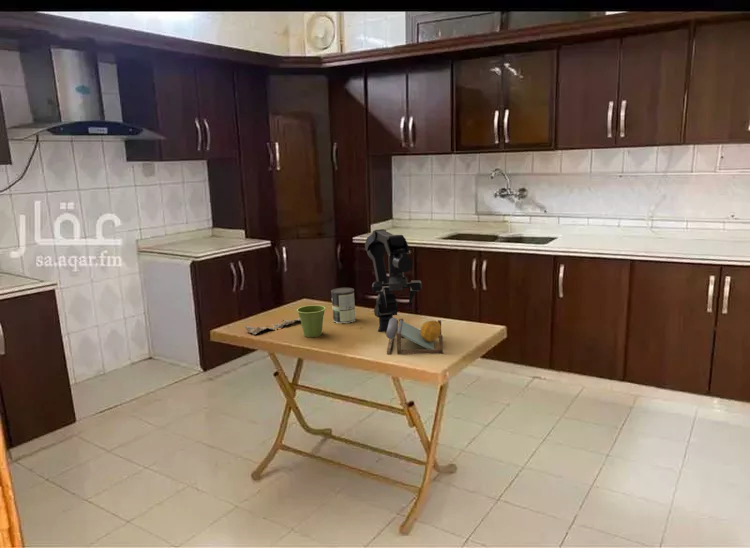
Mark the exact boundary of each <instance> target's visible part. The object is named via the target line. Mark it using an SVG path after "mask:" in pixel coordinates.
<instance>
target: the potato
mask: <svg viewBox="0 0 750 548" xmlns="http://www.w3.org/2000/svg"><path fill="white" fill-rule="evenodd" d="M420 330H421V332H420V334H421V336H422V338H423V339H424V340H425V341H428V342H432V341H435V340H437V339H439V335H440V333H441V334H442V324H441V325H440V324H439V322H438V320H431V321H425V322H424V323H422V325H421V326H420Z"/></svg>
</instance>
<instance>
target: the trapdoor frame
mask: <svg viewBox="0 0 750 548" xmlns="http://www.w3.org/2000/svg"><path fill="white" fill-rule="evenodd" d="M400 320H402V321H403V322H404V318H398V322H399V321H400ZM437 322H439V324H440V325H441V326H442V320H440V319H439V320H437ZM443 338H444V337H443V334H442V332H441V333H440V335H439V337H438V341H439V342H438V345H439V348H438V349H437V348H434V349H427V348H425V349H403V348H402V345H403V344H402V339H405V338H404V337H402V336H401V333H397V332H396V353H397V355H416V354H415V353H439V354H444V352H443V351H444V345H443V344H444V342H443ZM393 340H394V338H393V339H389V338H388V342H387V343H388V344H387V347H386V355H391V352H392V346H393ZM408 353H409V354H408ZM413 353H414V354H413Z"/></svg>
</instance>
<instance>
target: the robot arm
mask: <svg viewBox="0 0 750 548" xmlns="http://www.w3.org/2000/svg"><path fill="white" fill-rule="evenodd" d="M364 249H365V251H366V254H367V256H368V257H369V259H370V260H372V263H373V265H372V266H373V269H374V275H375V281H374V282H373V283H372V285H371V288H372V292H375V293H376V294H378V295H377V298H376V299H375V300H376V301H375V302H376V303H375V306H374V310H373V312H374V313H373V314H374V316H375V317H377V318H378V324H379V325H378V328H377V331H378V332H387V328H388V324H389V320H390V319H391V318H394V317H393V316H397V315H398V309H399V303H398V301H397V300H396V295H395V293H393V292H394V291H400V292H401V291H402V290H403V289H408V288H409V289H410V290H409V301H408V307H409V308H411V306H412V303H413V298H414V297H415V296H414V295H415V294H416V293H418V292H419V291H422V281H421V280H419V279H417V280H413V279H412V280H411V281H410V282H408V277H407V276H405V273H408V272H409V271H411V270H412V268H413V266H414V263H413V260H412V259H411V258H410V257H409V256H408V254H410V247H409V244H408V242H407V240H406V237H404V235H403V234H393V233H391V232H389V231H387V230H386V229H383V228H381V229H374V230H373V231H372V233H371V234H370V235H369V236H368V237H367V238H366V241H365V243H364ZM386 252H387V253H386ZM385 253H386V254H387V257H388V274H387V270H386V265H385V260H384V256H385V255H386V254H385ZM391 291H392V292H391Z"/></svg>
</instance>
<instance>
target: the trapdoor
mask: <svg viewBox="0 0 750 548" xmlns="http://www.w3.org/2000/svg"><path fill="white" fill-rule="evenodd" d="M385 332H386V333H385V335H386V337H387V339H388V340H389V339H393V340H394V339H395V337H397V335H396V334H397V333H401V336H402V337H404V338H403V339H406V340H409V341H411V342H413V343H415V344H417V345H419V346H421V347H423V348H425V349H435V342H434V341H435V340H434V341H432V342H428V341H425V340H424V339H423V338H422V336H421V334H420V332H421V329H420V328H418V327H415V326H414V325H411V324H409V323H407V322H405V321H404V320H403V321H402V320H400V321H399V319H397V318H396V317H393V318H391V319H390V320H389V324H388V328H387V331H385Z"/></svg>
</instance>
